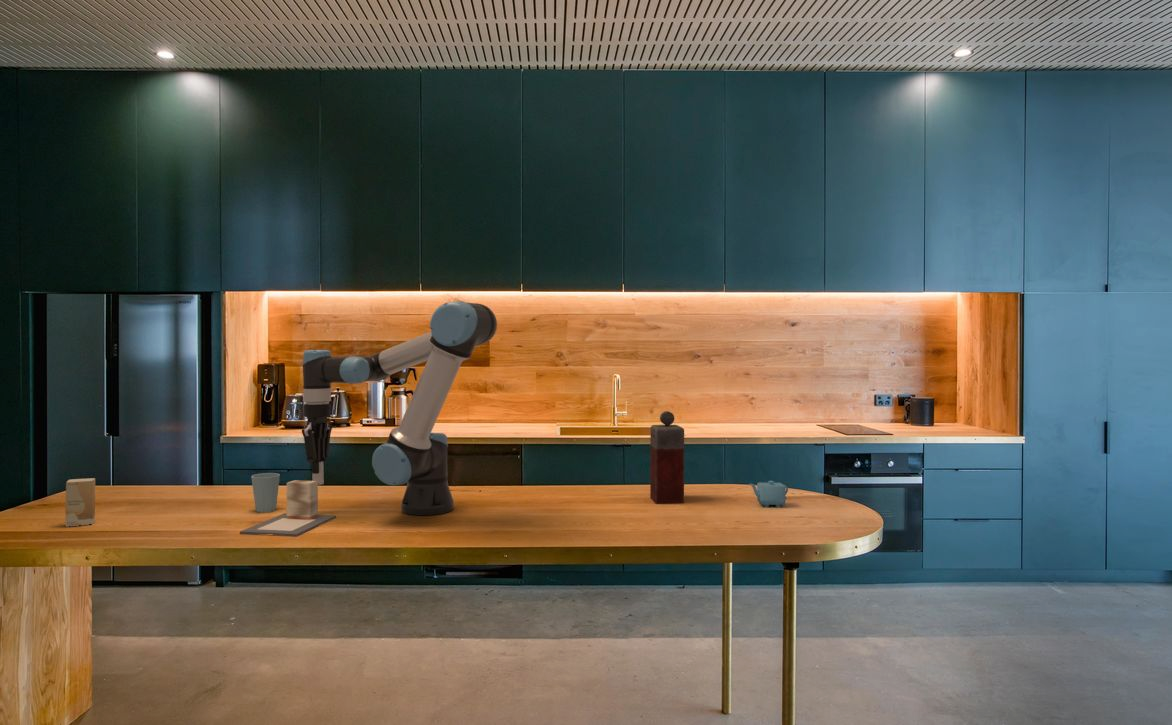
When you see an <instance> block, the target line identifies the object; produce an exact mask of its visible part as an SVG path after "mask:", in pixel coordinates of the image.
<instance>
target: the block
mask: <svg viewBox="0 0 1172 725" xmlns="http://www.w3.org/2000/svg"><path fill="white" fill-rule="evenodd" d="M318 486H319V485H318V481H312V480H299V479H297V480H296V479H295V480H291V481H288V482H286V513H287V519H304V520H311V519H313V518H316V517H318V515H319V507H318V506H319V494H318V493H319V490H318V489H319V488H318Z"/></svg>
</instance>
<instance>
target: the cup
mask: <svg viewBox="0 0 1172 725" xmlns="http://www.w3.org/2000/svg"><path fill="white" fill-rule="evenodd" d="M280 475H281V474H280V473H276V472H265V473H264V472H263V473H262V472H261V473H257V474H256V473H255V474H253V475H251V483H252V484H251V486H252V491H253V499H254V507H255V511H256V512H257V513H270V511H271V512H274V511H276V510H277V504H278V497H279V496H278V495H279V494H278V493H279V485H280V479H281V478H280Z"/></svg>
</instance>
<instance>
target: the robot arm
mask: <svg viewBox="0 0 1172 725" xmlns="http://www.w3.org/2000/svg"><path fill="white" fill-rule="evenodd" d="M429 328H430V330H431V331H429V332H426V333H424V334H422V335H419V336H416V337H414V338H411V339H409V340H406V341H404V342H401V343H398V344H397V345H394V346H391V347H390V348H387V349H384V350H382V351H379V352H377V353H375V354H372V355H366V356H365V355H364V356H332V355H331V351H330V350H329V349H307V350H305V351H304V352H303V354H302V355H303V357H302V376H303V377H302V378H303V380H302V381H303V390H302V391H303V392H302V395H303V403H304V404H303V407H302V408H303V410H302V411H303V417H304V418H307V422H306V428H302V429H301V434H302V436H303V441H304V448H305V454H306V460H307V462H308V463H311V467H312V468H311V478H312V480H311V481H318V486H321V485H324V484H325V481H324V480H325V479H324V478H325V477H324V476H325V475H324V469H325V468H324V462H327V461H328V457H329V451H330V442H331V432H332V430H333V425H332V424H329V423H328V422H329V420H328V417H331V415H332V404H331V403H330V402H331V401H332V387H331V386H332V383H334V384H349V385H352V384H354V385H355V384H363V383H364V382H380V381H383V380H386V379H387V380H388V378H390V377H391V375H394V374H395V373H398V372H401V371H404V370H407V369H409V368H412V367H414V366H416V365H419V364H420V365H421V364H423V363H424V362H426V364H425V365H424V368H423V370H422V372H421V374H420V378H419V380H418V381H417V384H416V386H415V389H414V391H413V393H412V396H411V398H410V400H409V403H408V405H407V408H406V410H405V412H404V414H403V417H402V419H401V421H400V423H399V426H396V427H394V428H391V430H390V433H389V435H388V437H387V439H386V442H385V443H383V444H381V445H379V446H378V447H377V448H376V449H375V450H374V452H373V453H372V460H371V465H372V469H373V470H374V474H375V475H376V478H378V479H379V480H380V481H381V482H382V483H384V484H386V485H389V486H397V485H398V486H400V485H401V486H402V485H406V484H407V485H406V488H405V491H404V495H403V497H402V500H401V505H400V506H401V510H400V511H401V512H402V513H403V514H406V515H410V516H411V515H412V516H432V515H433V516H434V515H441V514H446V513H449V512H451V511H453V510H454V507H455V506H454V504H455V503H454V502H455V501H454V498H453V495H452V492H451V488H450V486H449V483H448V470H449V469H448V467H449V466H448V458H449V454H448V448H449V444H448V436H447V435H446V434H445V433H443V432H432V431H433V428H434V426H435V425H436V422H437V420H438V417H439V415H440V413H441V411H442V409H443V406H444V404H445V401H446V399H447V398H448V395H449V393H450V390H451V388H452V386H453V384H454V381H455V378H456V377H457V374H458V372H459V369H460V367H461V365H462V364H463V362H464V361H466V360H468V359H470V358H471V356H472V354H473V351H474V349H475V347H477V346H480V345H484V344H487V343H488V342H489V341H490V340H492V339H493V338H494V336H495V335H496V331H497V328H498V321H497V317H496V314H495V313H494V312H493V311H492V310H491V308H489V307H488V306H487V305H484V304H482V303H474V302H465V301H462V300H453V301H447V302H445V303H442V304H441V305H439V306H437V308H436V309H435V310H434V311H433V313H432V316H431V317H430V322H429Z"/></svg>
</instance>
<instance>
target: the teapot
mask: <svg viewBox="0 0 1172 725" xmlns="http://www.w3.org/2000/svg"><path fill="white" fill-rule="evenodd" d="M748 485H750V486H751V487H752V489H753V492H754V495H755V496H756V497H757V502H758V503H759V504H760V505H762V506H763V508H770V506H775V507H776V508H781V507H782V506H786V501H787V496H786V495H788V494H787V493H788V492H789V488H788V486H787V485H785V484H782V483H781V482H775V481H774V480H768V482H757V487H756V485H755V484H754V483H748Z"/></svg>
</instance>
